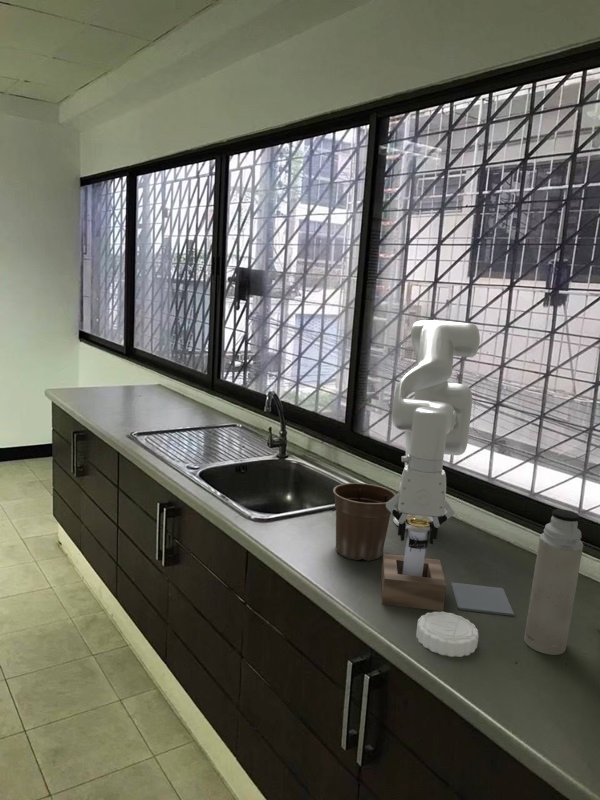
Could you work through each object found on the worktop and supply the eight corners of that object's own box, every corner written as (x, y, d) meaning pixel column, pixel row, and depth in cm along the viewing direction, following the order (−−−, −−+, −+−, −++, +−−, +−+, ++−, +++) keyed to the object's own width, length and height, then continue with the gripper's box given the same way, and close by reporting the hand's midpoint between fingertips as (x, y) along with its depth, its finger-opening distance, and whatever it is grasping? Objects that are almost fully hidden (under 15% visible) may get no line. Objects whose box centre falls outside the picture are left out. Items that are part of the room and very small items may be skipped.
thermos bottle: (518, 631, 135) (537, 504, 130) (555, 633, 135) (576, 506, 130) (532, 654, 127) (554, 518, 122) (572, 656, 128) (595, 521, 122)
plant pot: (345, 533, 180) (350, 478, 177) (400, 549, 172) (406, 491, 169) (316, 553, 166) (321, 492, 163) (374, 571, 158) (381, 508, 155)
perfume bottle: (396, 580, 152) (405, 498, 148) (420, 581, 152) (430, 500, 148) (401, 592, 146) (410, 507, 142) (426, 593, 146) (436, 509, 142)
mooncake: (421, 619, 138) (423, 603, 137) (479, 634, 134) (482, 618, 133) (410, 647, 127) (412, 630, 126) (473, 664, 123) (475, 647, 122)
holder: (380, 576, 155) (383, 553, 154) (436, 583, 154) (439, 559, 153) (382, 603, 142) (384, 578, 141) (442, 611, 141) (446, 585, 140)
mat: (451, 584, 154) (451, 582, 154) (502, 590, 153) (503, 588, 153) (457, 609, 143) (458, 607, 142) (513, 616, 142) (514, 613, 141)
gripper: (386, 464, 140) (378, 542, 144) (467, 472, 139) (457, 551, 142) (385, 454, 147) (377, 529, 151) (462, 462, 146) (453, 537, 150)
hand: (416, 539), depth 147 cm, fingers closed on perfume bottle, 5 cm apart
